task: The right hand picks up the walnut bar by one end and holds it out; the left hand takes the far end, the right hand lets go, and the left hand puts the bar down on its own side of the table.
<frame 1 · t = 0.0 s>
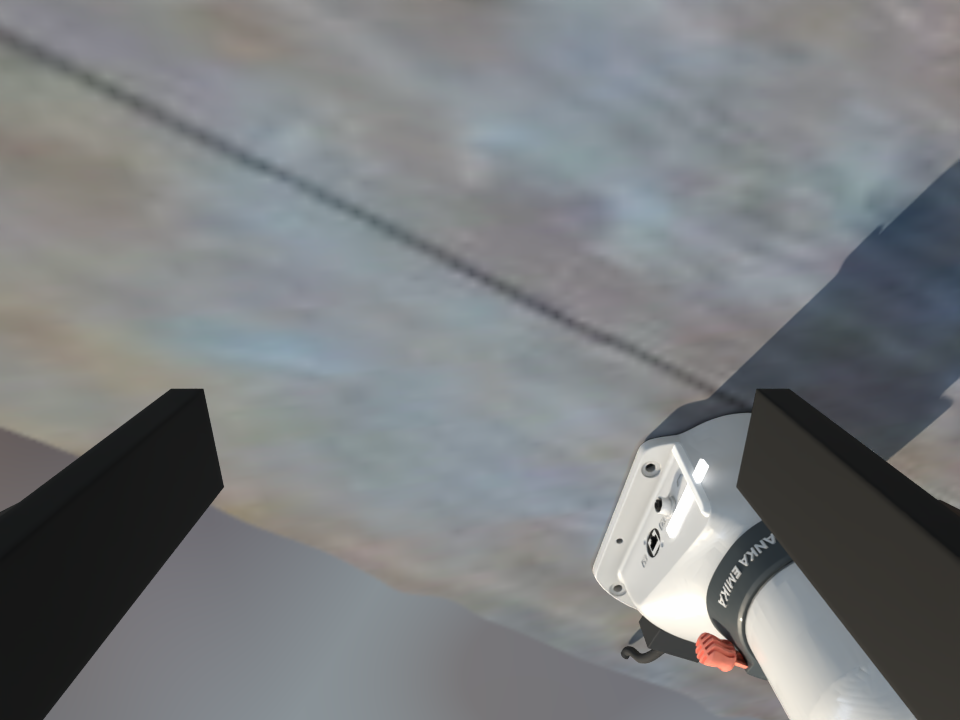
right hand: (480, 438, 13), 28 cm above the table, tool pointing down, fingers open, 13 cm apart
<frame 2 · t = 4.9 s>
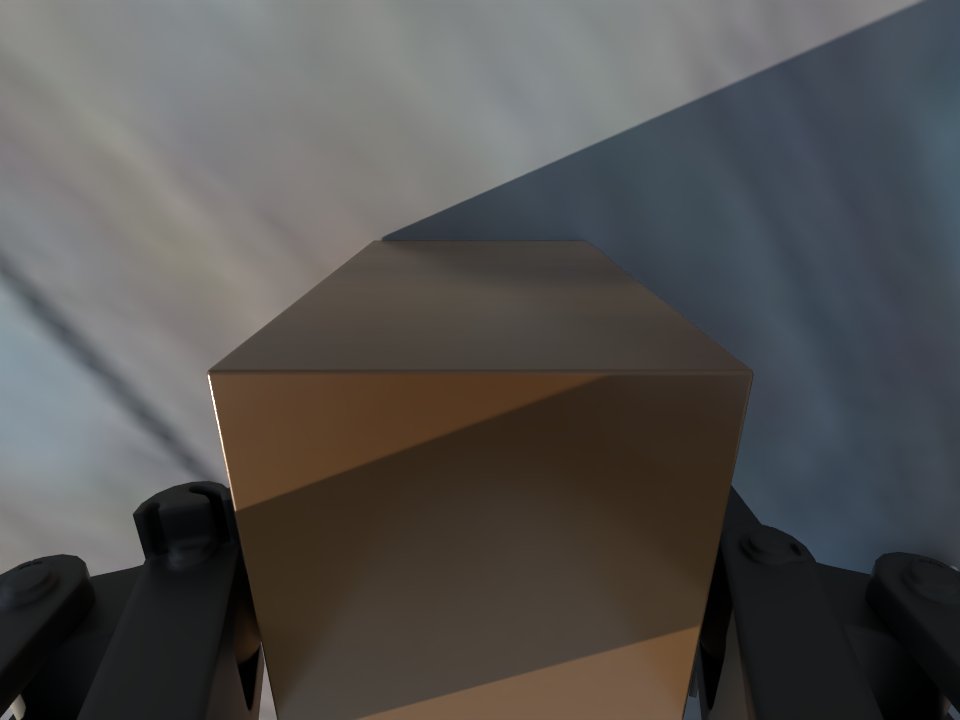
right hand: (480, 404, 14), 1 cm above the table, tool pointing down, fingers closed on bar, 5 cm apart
bar: (480, 584, 17), on the table, touching right hand
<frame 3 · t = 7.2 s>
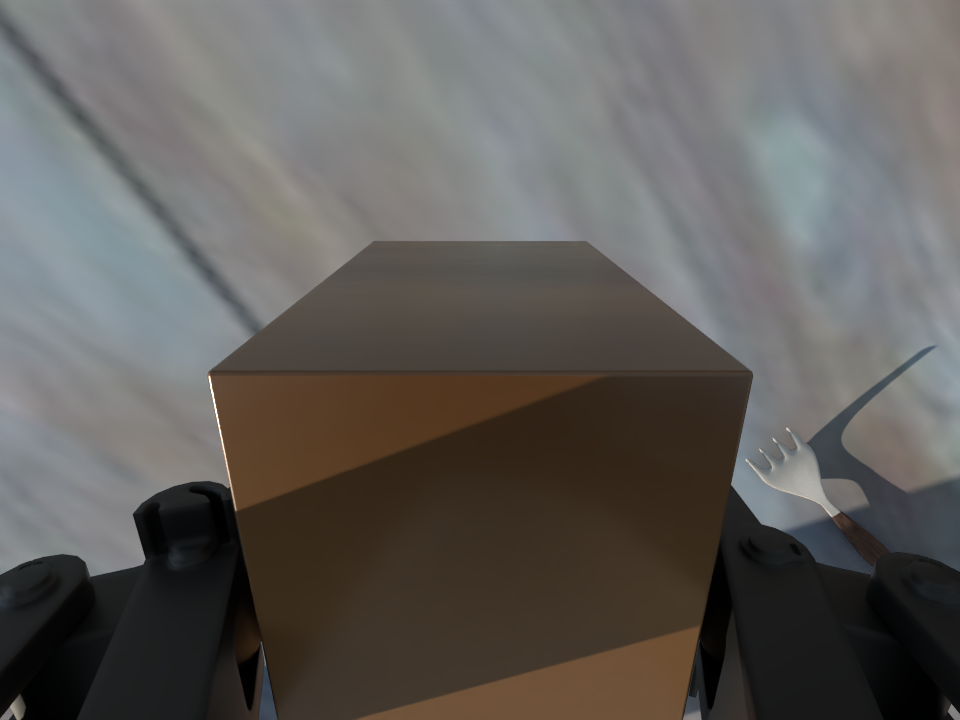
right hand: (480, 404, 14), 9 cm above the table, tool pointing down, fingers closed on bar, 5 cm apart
fork: (838, 517, 26), on the table
bar: (480, 584, 17), point 8 cm above the table, touching right hand
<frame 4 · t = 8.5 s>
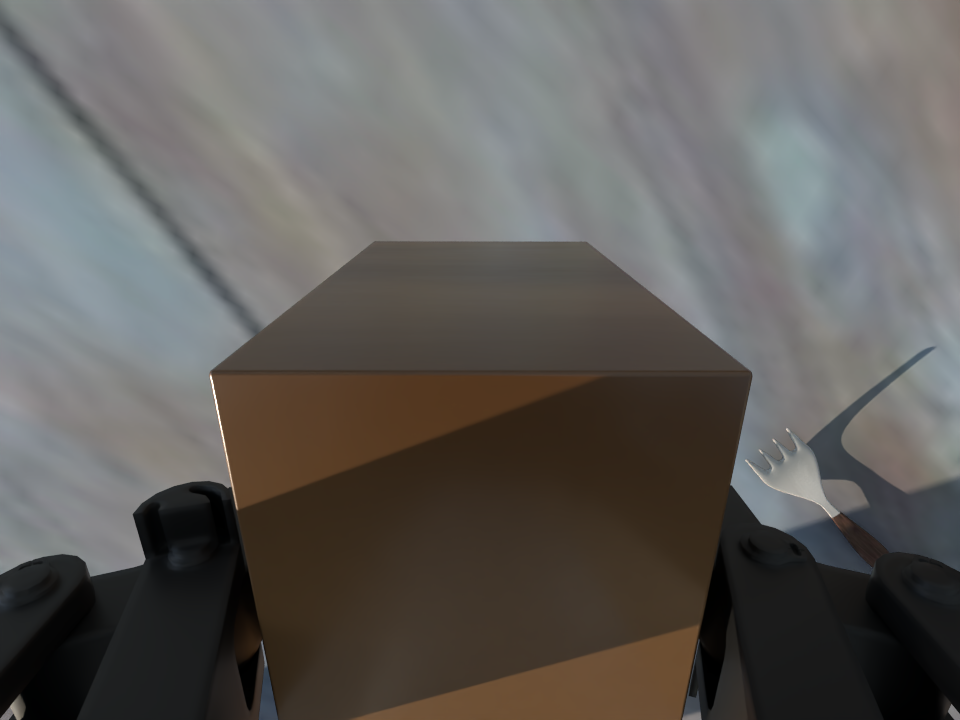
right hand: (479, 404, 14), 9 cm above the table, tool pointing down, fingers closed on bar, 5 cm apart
fork: (838, 517, 26), on the table
bar: (479, 584, 17), point 8 cm above the table, touching right hand, left hand
when the right hand's fingers open (9 cm above the table, at t = 9.4 s): bar stays where it is, held by the left hand.
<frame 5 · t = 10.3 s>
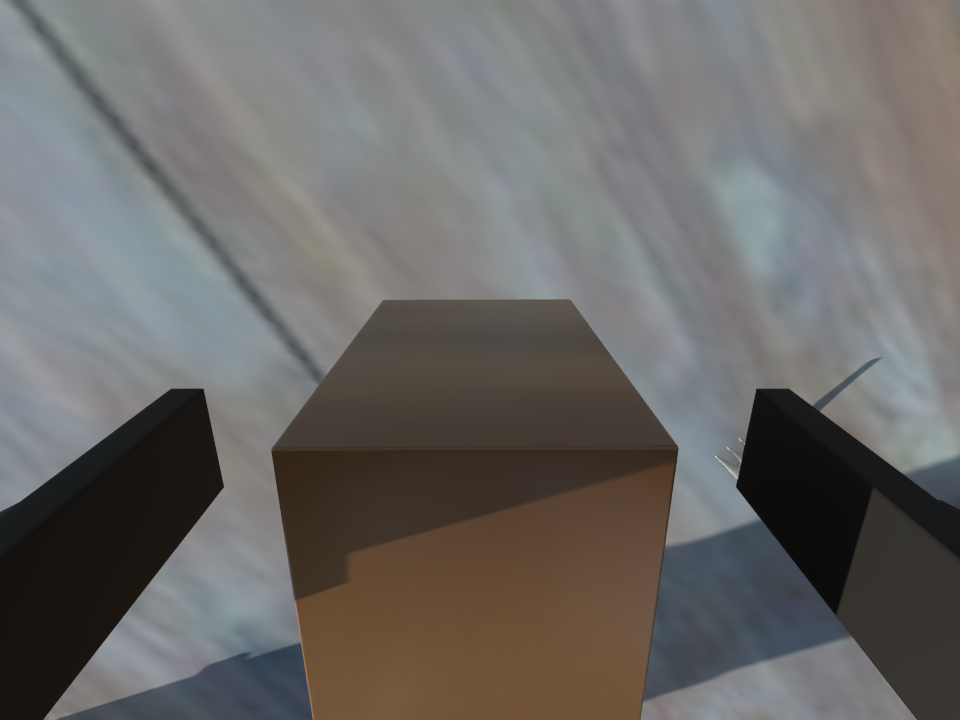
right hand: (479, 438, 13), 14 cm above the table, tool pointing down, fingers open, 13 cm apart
bar: (478, 603, 19), point 10 cm above the table, touching left hand
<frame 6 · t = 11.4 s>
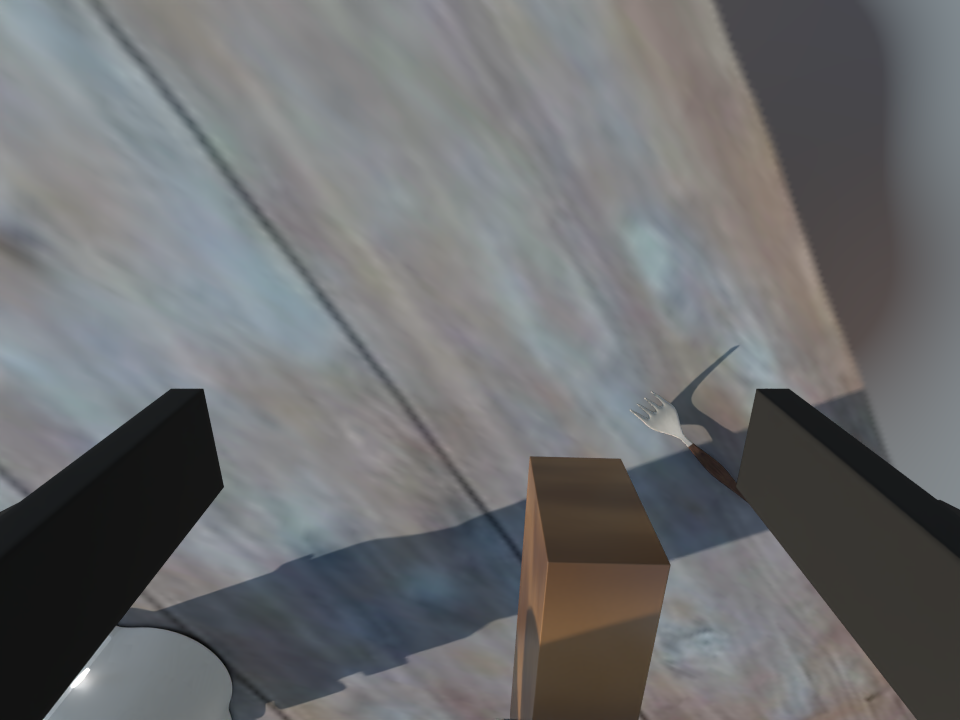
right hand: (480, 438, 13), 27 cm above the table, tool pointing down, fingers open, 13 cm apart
fork: (695, 448, 44), on the table
bar: (559, 601, 35), point 11 cm above the table, touching left hand
when the left hand's fingers open (5 cm above the table, at t = 14.6 s): bar stays where it is, on the table.
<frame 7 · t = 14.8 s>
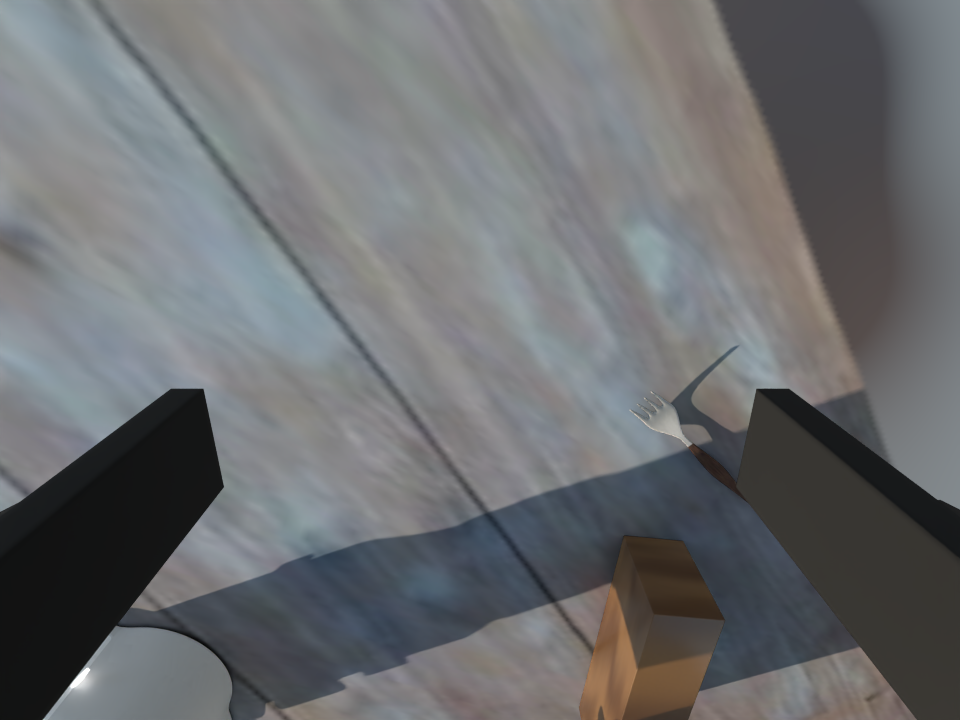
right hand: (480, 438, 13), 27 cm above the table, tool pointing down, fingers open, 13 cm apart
fork: (695, 448, 44), on the table
bar: (627, 630, 51), on the table
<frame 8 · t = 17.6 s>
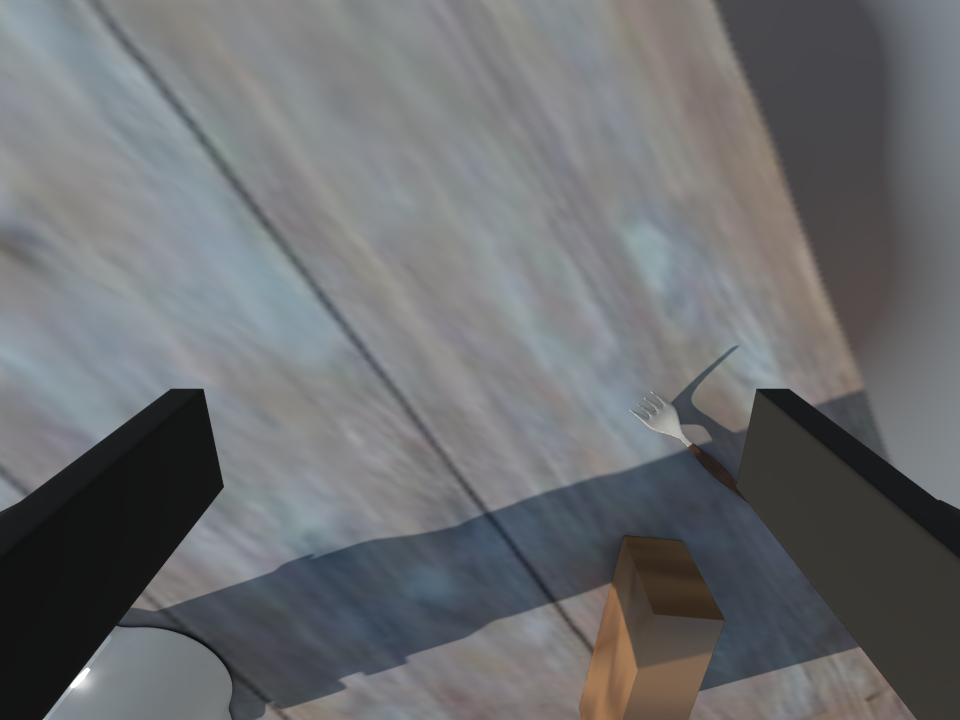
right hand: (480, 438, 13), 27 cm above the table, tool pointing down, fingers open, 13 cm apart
fork: (695, 448, 44), on the table
bar: (627, 630, 51), on the table
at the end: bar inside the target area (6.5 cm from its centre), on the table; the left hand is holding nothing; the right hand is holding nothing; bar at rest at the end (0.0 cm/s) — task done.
